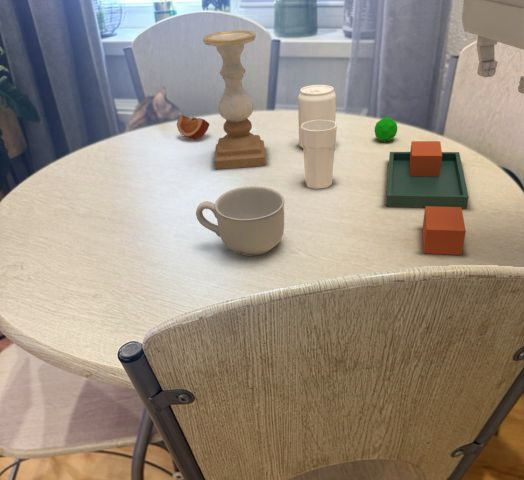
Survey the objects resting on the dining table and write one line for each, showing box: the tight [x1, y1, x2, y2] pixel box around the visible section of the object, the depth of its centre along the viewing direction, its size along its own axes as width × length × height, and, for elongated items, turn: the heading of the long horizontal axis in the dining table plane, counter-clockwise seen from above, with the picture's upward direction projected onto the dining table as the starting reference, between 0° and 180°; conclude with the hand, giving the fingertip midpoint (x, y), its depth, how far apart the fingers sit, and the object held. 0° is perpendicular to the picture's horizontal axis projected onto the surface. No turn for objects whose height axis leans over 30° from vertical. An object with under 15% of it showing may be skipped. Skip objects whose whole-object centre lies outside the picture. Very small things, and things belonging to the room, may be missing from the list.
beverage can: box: [297, 84, 337, 149], centre depth 117 cm, size 8×8×12 cm
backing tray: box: [385, 151, 470, 209], centre depth 101 cm, size 14×22×2 cm, turn 168°
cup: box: [301, 120, 338, 190], centre depth 101 cm, size 7×7×11 cm
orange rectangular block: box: [409, 140, 443, 177], centre depth 104 cm, size 6×8×4 cm
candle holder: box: [202, 30, 267, 170], centre depth 110 cm, size 11×11×24 cm
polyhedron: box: [374, 116, 398, 142], centre depth 119 cm, size 5×5×5 cm
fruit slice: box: [176, 114, 210, 140], centre depth 130 cm, size 8×7×5 cm
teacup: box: [195, 185, 285, 257], centre depth 84 cm, size 14×11×8 cm
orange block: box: [421, 206, 467, 256], centre depth 82 cm, size 6×8×4 cm
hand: (505, 84), depth 67 cm, fingers open, 8 cm apart
